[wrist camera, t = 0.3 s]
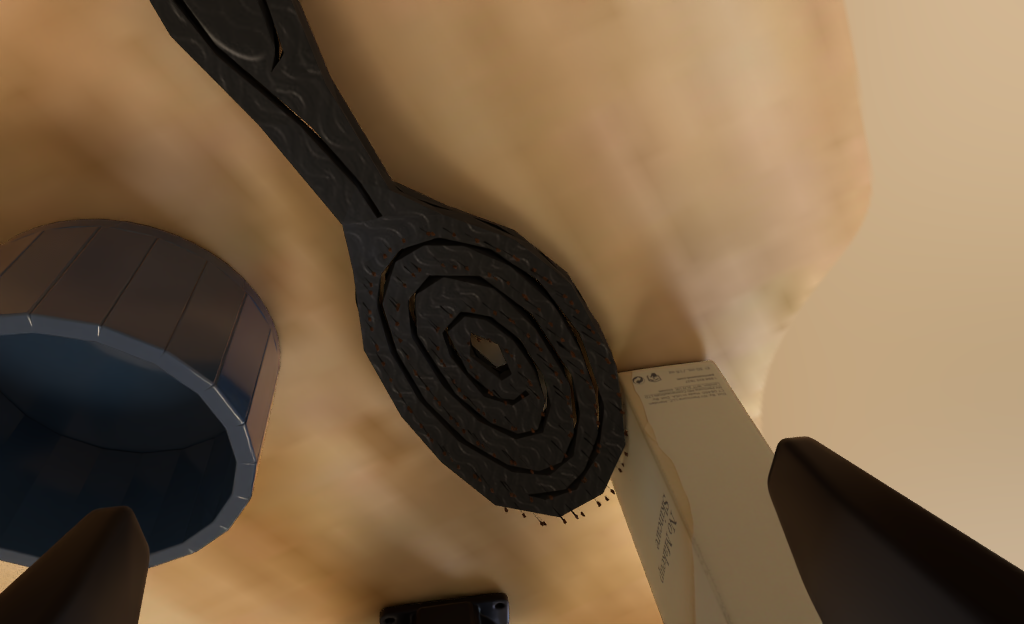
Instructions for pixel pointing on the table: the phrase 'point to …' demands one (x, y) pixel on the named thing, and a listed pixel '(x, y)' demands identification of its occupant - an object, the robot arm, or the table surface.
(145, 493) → the crock
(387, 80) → the table surface
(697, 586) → the cosmetic box
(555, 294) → the hairbrush
